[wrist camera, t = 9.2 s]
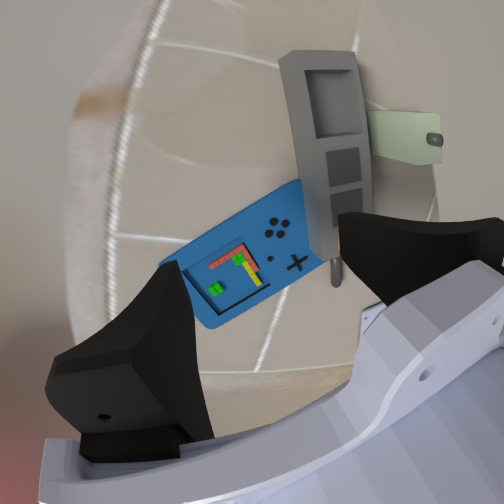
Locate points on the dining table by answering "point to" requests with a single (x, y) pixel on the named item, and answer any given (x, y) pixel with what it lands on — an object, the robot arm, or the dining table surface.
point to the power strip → (328, 143)
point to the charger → (406, 136)
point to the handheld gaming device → (248, 256)
